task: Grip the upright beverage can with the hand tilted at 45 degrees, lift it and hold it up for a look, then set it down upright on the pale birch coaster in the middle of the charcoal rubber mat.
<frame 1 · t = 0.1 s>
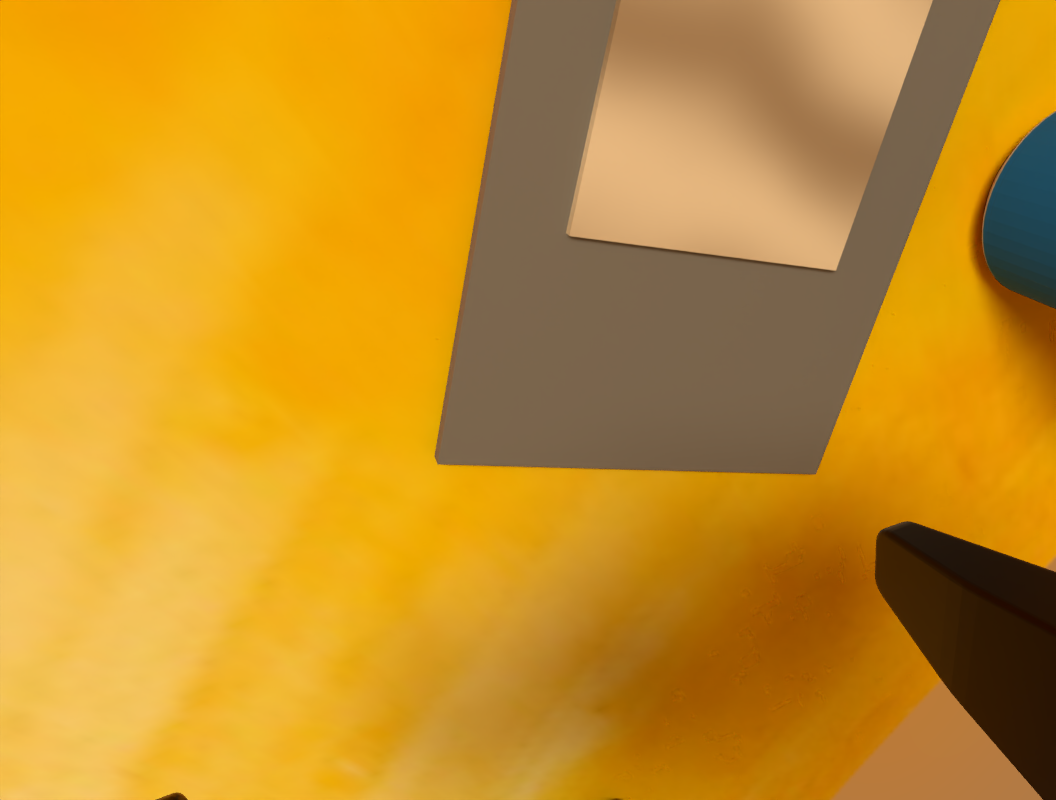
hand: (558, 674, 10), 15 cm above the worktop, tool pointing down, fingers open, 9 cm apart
beverage can: (1041, 193, 28), on the worktop
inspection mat: (743, 90, 23), on the worktop
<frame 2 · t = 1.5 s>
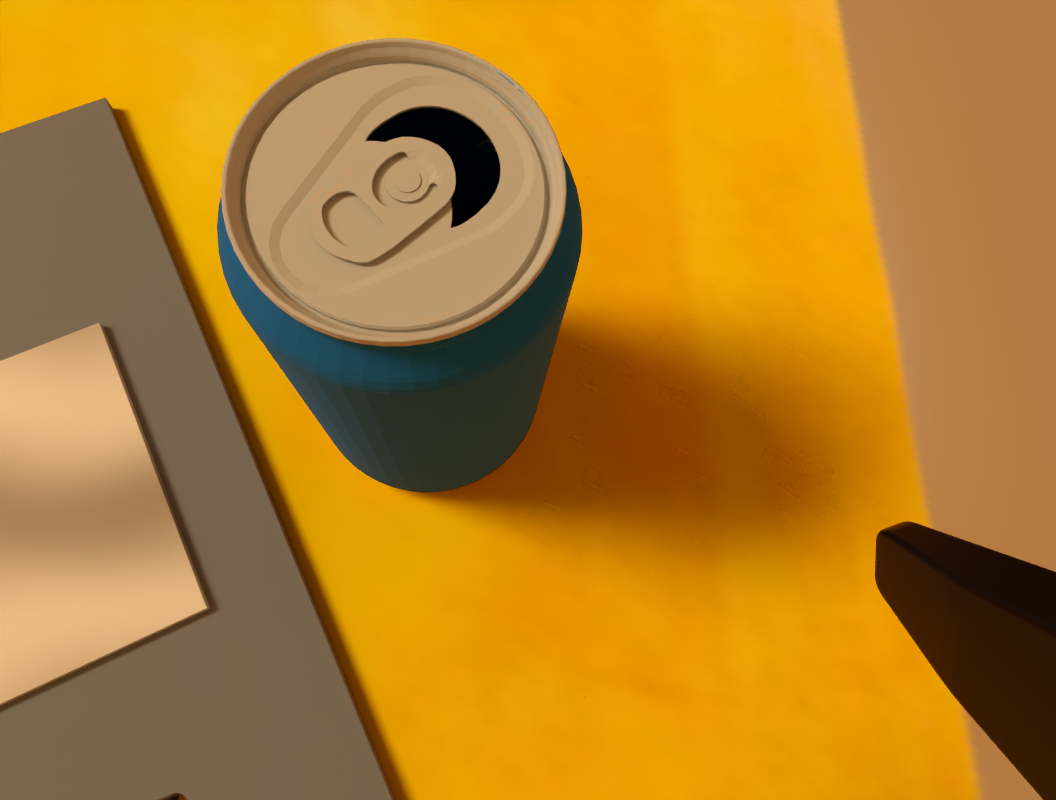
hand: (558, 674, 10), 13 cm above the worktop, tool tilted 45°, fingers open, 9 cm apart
beverage can: (431, 393, 25), on the worktop
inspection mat: (3, 531, 23), on the worktop
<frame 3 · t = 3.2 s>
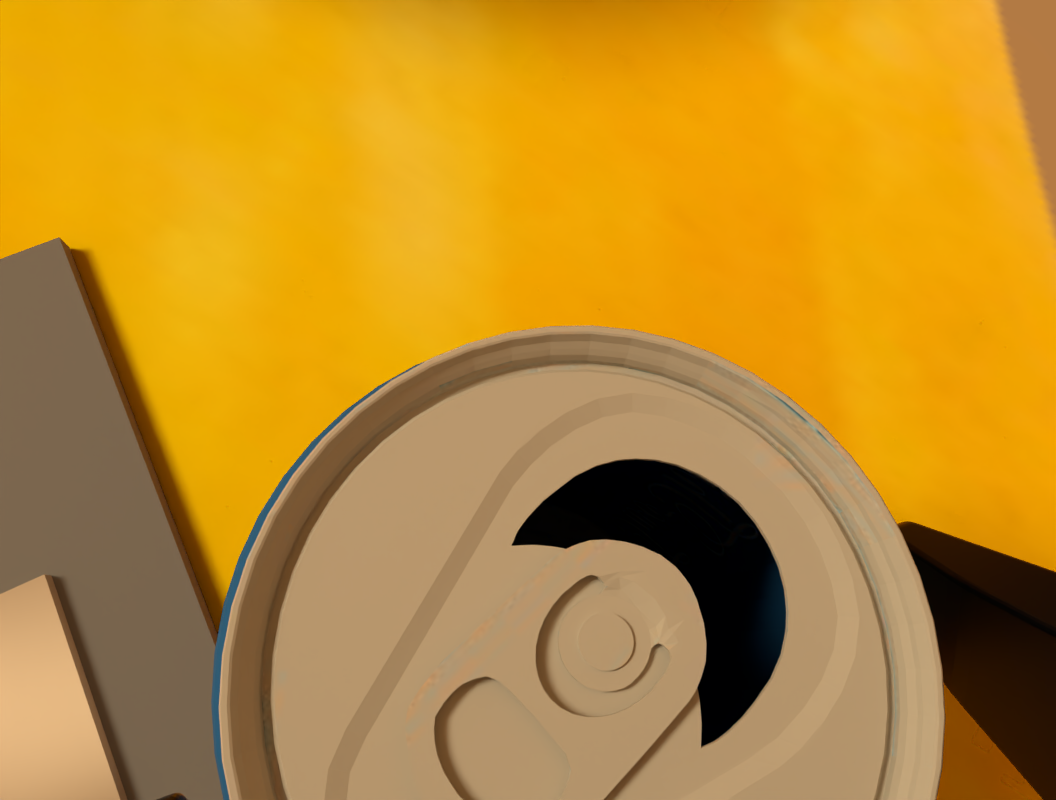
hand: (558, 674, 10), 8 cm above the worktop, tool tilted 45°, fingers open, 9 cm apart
beverage can: (512, 653, 18), on the worktop
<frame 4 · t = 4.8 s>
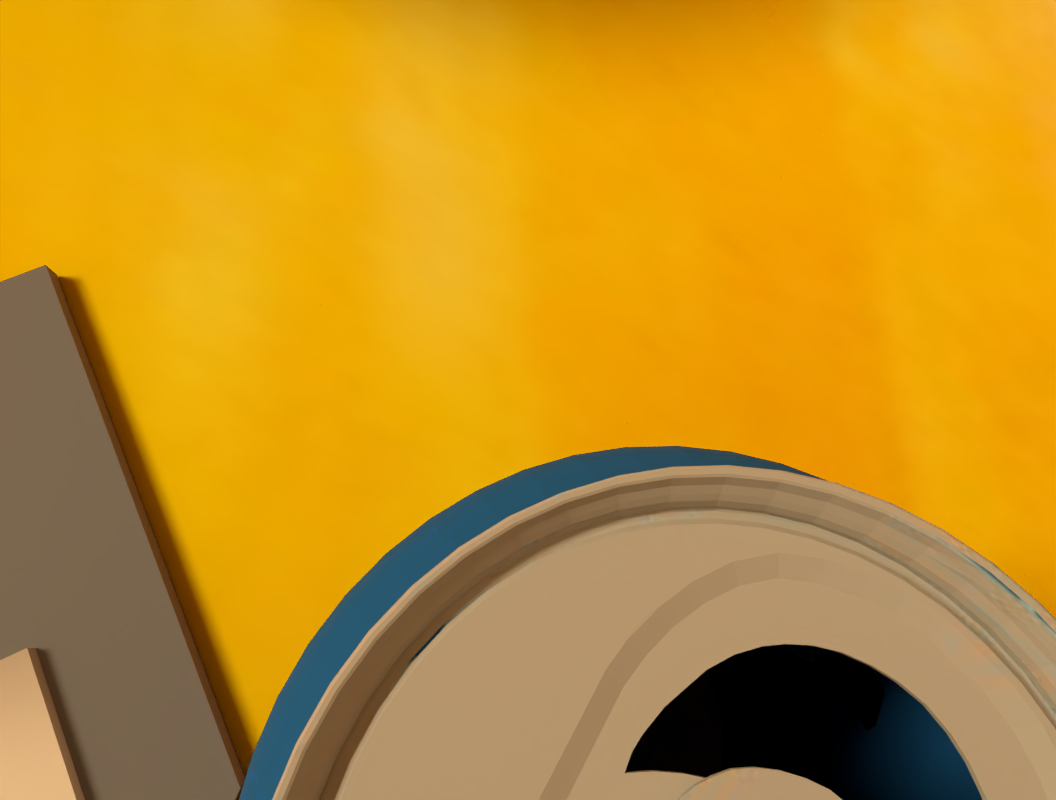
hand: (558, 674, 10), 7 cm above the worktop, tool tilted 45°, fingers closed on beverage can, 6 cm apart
beverage can: (547, 731, 16), on the worktop, touching gripper
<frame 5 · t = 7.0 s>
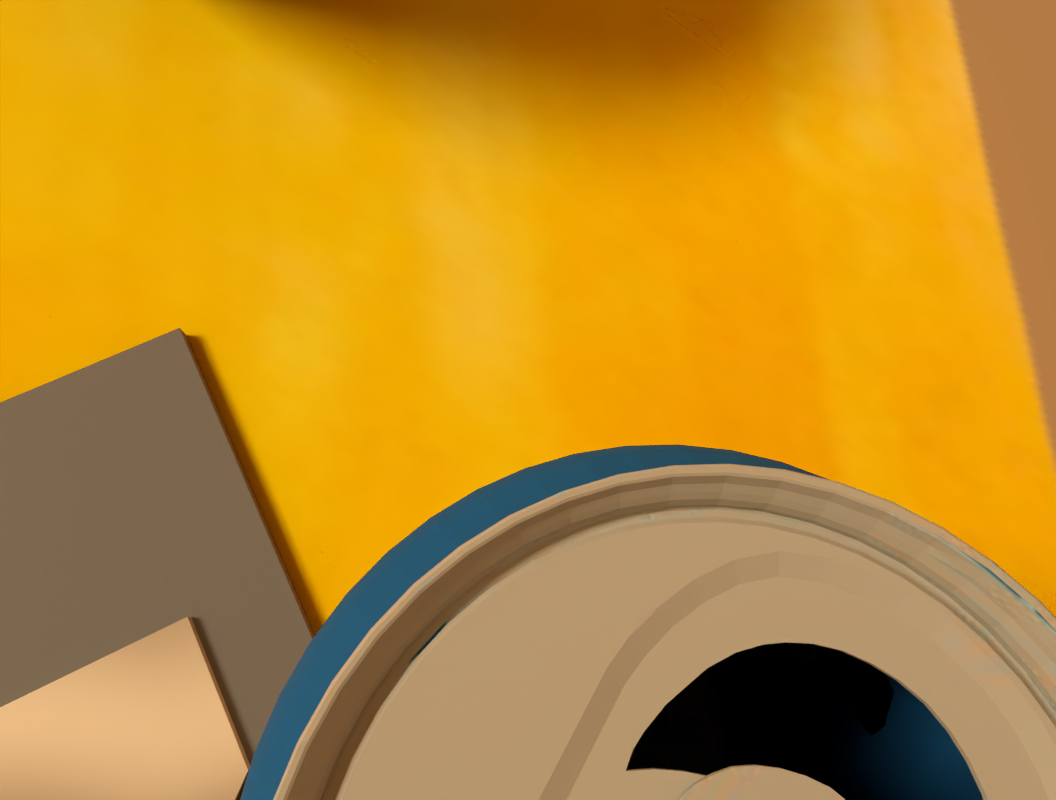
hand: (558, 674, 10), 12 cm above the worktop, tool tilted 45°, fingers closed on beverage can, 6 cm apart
beverage can: (548, 729, 16), point 5 cm above the worktop, touching gripper
when the fingers open (9 cm above the worktop, at t = 9.5 s): beverage can drops 1 cm, resting on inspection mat.
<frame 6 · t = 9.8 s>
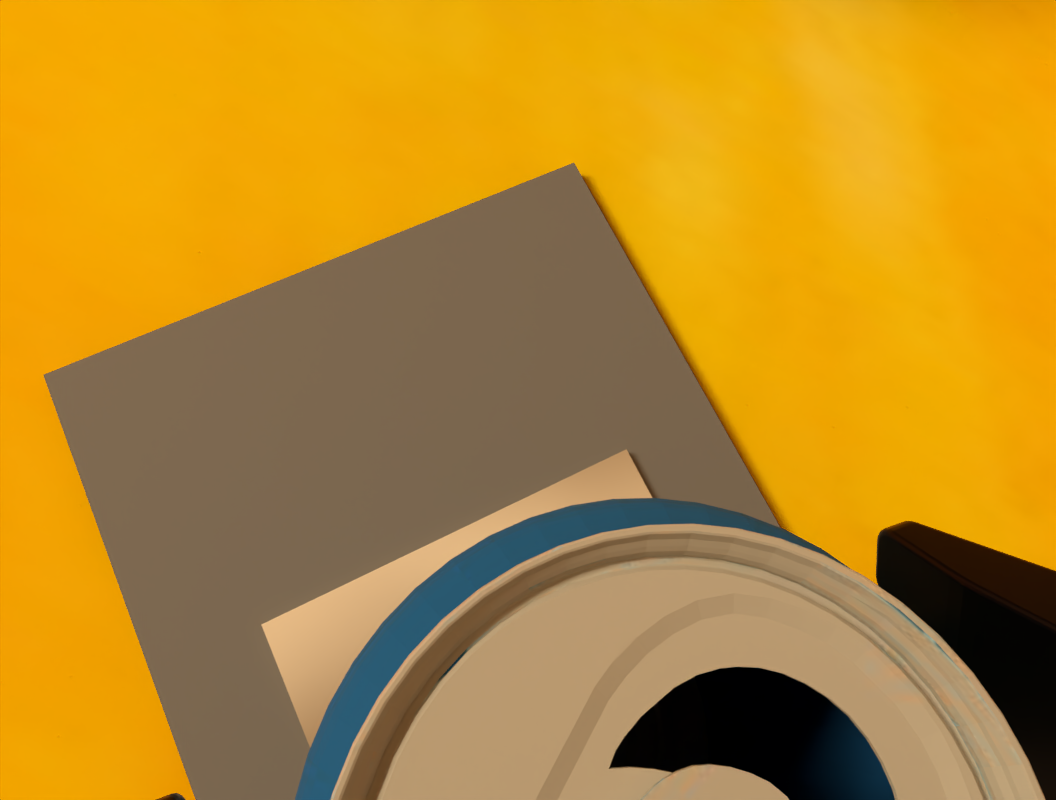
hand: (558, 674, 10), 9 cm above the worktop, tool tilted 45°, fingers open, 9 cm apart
beverage can: (546, 733, 17), point 1 cm above the worktop, touching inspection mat
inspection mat: (538, 720, 18), on the worktop
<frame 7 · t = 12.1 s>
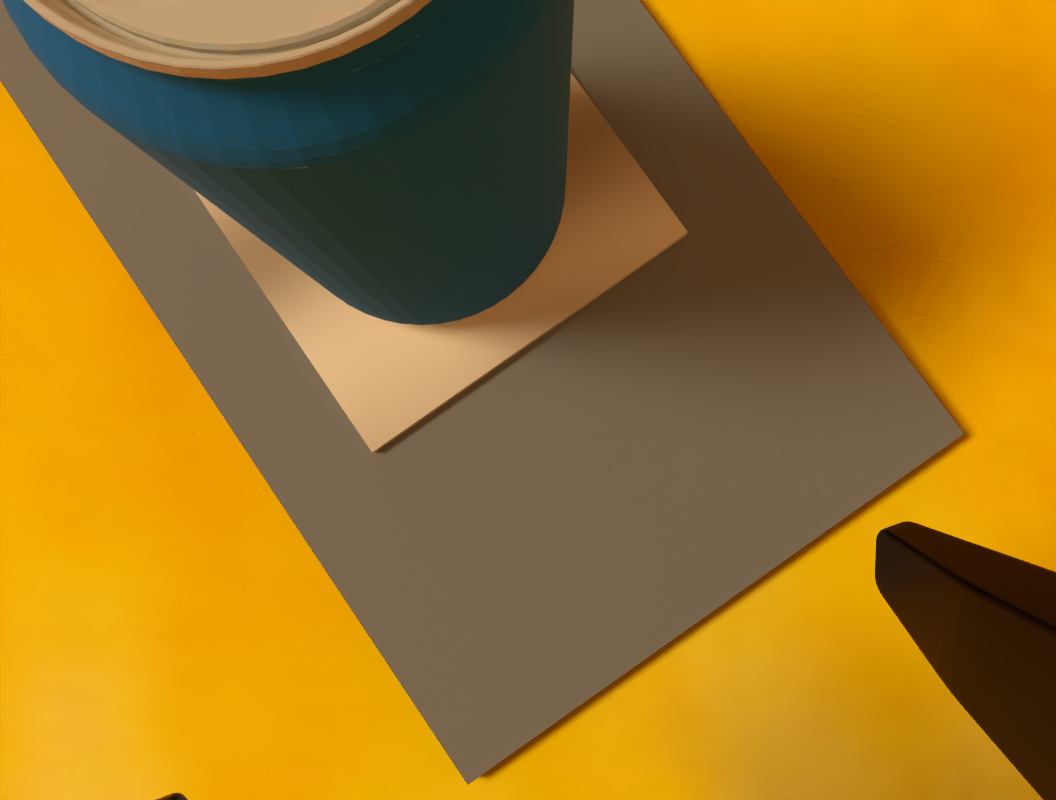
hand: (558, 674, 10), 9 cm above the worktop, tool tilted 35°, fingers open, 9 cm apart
beverage can: (430, 198, 20), point 1 cm above the worktop, touching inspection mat
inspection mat: (427, 199, 20), on the worktop
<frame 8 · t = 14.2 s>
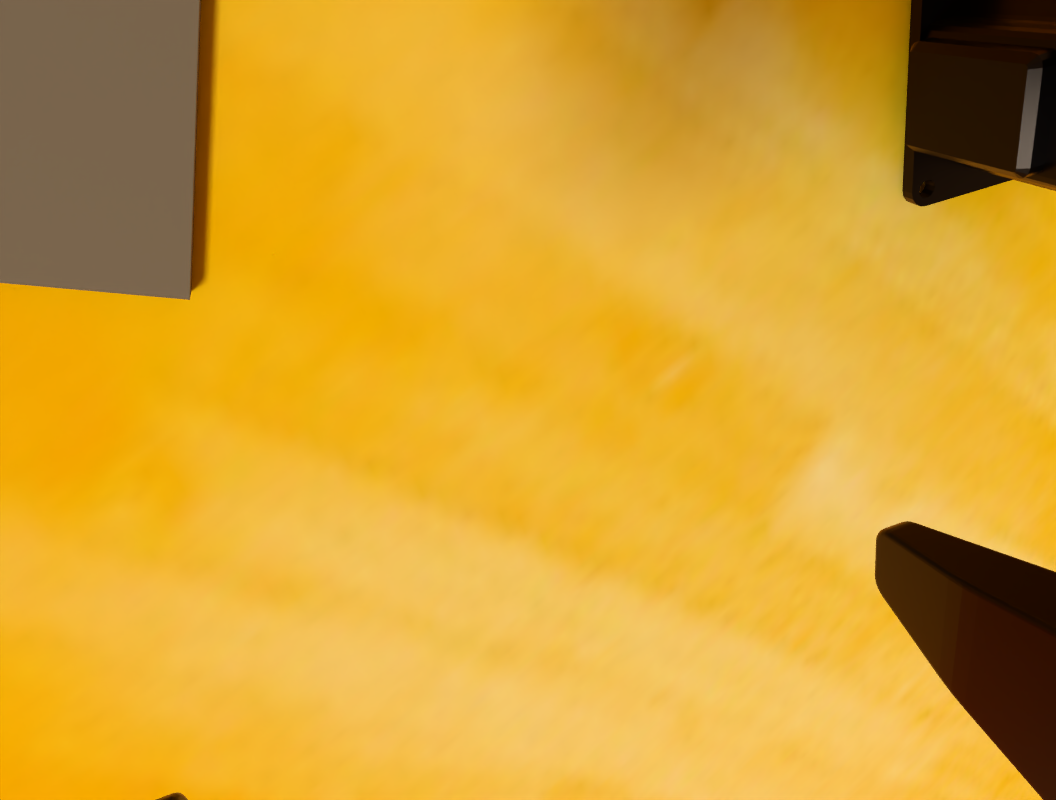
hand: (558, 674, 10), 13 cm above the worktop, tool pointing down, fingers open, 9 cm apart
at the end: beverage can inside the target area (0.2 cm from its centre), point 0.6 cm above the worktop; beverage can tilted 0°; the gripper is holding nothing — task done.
